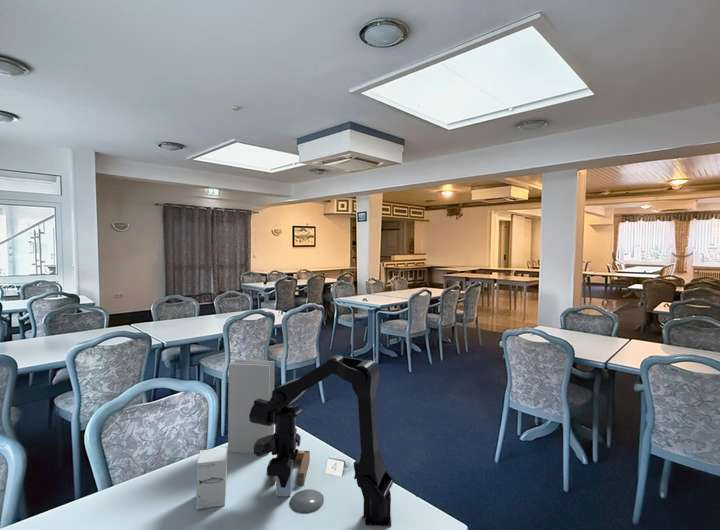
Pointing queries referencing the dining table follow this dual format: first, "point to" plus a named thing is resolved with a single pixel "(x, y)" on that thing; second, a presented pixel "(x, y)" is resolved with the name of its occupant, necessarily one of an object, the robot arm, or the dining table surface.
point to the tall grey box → (248, 402)
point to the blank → (287, 489)
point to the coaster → (307, 500)
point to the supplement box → (211, 478)
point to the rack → (302, 459)
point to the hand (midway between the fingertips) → (284, 482)
